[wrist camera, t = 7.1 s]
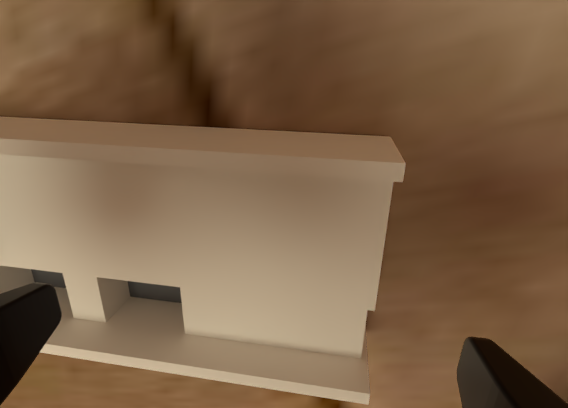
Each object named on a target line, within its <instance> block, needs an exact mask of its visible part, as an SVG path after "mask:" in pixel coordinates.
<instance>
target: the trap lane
mask: <svg viewBox="0 0 568 408" xmlns="http://www.w3.org/2000/svg"><path fill="white" fill-rule="evenodd" d="M405 166H406V163H405V161H404V159H403V158H402V156H401V154H400V152H399V151H398V149H397V147H396V145H395V144H394V142H393V140H392V138H391V137H390V136H371V135H352V134H332V133H313V132H293V131H274V130H254V129H235V128H215V127H196V126H176V125H157V124H137V123H118V122H98V121H79V120H59V119H40V118H20V117H1V116H0V294H1V293H4V292H7V291H10V290H13V289H15V288H18V287H21V286H24V285H27V284H30V283H35V282H36V283H46V284H51V285H53V287H54V288H55V290H56V293H57V297H58V300H59V304H60V308H61V311H62V317H61V321H60V323H59V325H58V326H57V328H56V329H55V331H54V332H53V334H52V335H51V336H50V338H49V339H48V341H47V342H46V344H45V345H44V347H43V348H42V349H41V351H40V352H41V353H47V354H54V355H60V356H66V357H72V358H79V359H85V360H91V361H97V362H104V363H110V364H116V365H123V366H129V367H135V368H141V369H148V370H154V371H160V372H166V373H173V374H179V375H185V376H192V377H198V378H204V379H210V380H217V381H223V382H229V383H235V384H242V385H248V386H254V387H261V388H267V389H273V390H279V391H286V392H292V393H298V394H304V395H311V396H317V397H323V398H330V399H336V400H342V401H348V402H355V403H361V404H367V405H369V398H370V385H369V370H368V355H367V341H366V326H365V325H366V318H367V311H368V310H371V311H375V306H376V299H377V292H378V285H379V278H380V272H381V265H382V258H383V251H384V244H385V237H386V230H387V223H388V216H389V209H390V202H391V195H392V188H393V182H403V179H404V172H405Z"/></svg>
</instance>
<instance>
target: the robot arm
mask: <svg viewBox="0 0 568 408" xmlns="http://www.w3.org/2000/svg"><path fill="white" fill-rule="evenodd" d="M61 317H62V311H61V308H60V304H59V300H58V297H57V293H56V290H55V288H54V287H53V285H51V284H46V283H36V282H35V283H30V284H27V285H24V286H21V287H18V288H15V289H13V290H10V291H7V292H4V293H1V294H0V405H1V404H2V403H3V402H4V400H5V399H6V398H7V397H8V395H9V394H10V393H11V392H12V390H13V389H14V388H15V386H16V385H17V384H18V382H19V381H20V380H21V378H22V377H23V375H24V374H25V373H26V371H27V370H28V368H29V367H30V365H31V364H32V362H33V361H34V360H35V358H36V357H37V355H38V354H39V352H40V351H41V349H42V348H43V347H44V345H45V344H46V342H47V341H48V339H49V338H50V336H51V335H52V334H53V332H54V331H55V329H56V328H57V326H58V325H59V323H60V321H61ZM457 381H458V387H459V392H460V397H461V402H462V407H463V408H568V404H567V403H566V402H565V401H564V400H562V399H561V398H560V397H559V396H558V395H556V394H555V393H554V392H553V391H552V390H551V389H549V388H548V387H547V386H546V385H545V384H543V383H542V382H541V381H540V380H539V379H537V378H536V377H535V376H534V375H533V374H531V373H530V372H529V371H528V370H527V369H525V368H524V367H523V366H522V365H521V364H520V363H518V362H517V361H516V360H515V359H514V358H512V357H511V356H510V355H509V354H508V353H506V352H505V351H504V350H503V349H502V348H500V347H499V346H498V345H497V344H496V343H494V342H493V341H492V340H490V339H486V338H478V337H468V338H466V340H465V342H464V345H463V349H462V352H461V356H460V360H459V364H458V368H457Z"/></svg>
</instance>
